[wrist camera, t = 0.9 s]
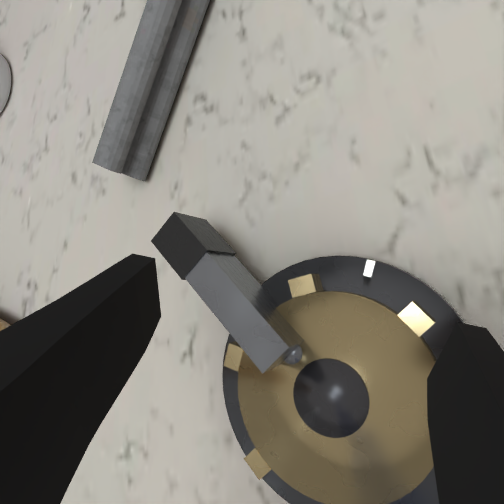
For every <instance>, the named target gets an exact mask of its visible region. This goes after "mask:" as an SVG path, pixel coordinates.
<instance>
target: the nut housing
mask: <svg viewBox="0 0 504 504" xmlns="http://www.w3.org/2000/svg"><path fill="white" fill-rule="evenodd" d="M308 274H319V276H320V280H321V283H322V287H323V291H321V292H324V291H344V292H352V293H357V294H361V295H364V296H367V297H370V298H373V299H375V300H377V301H379V302H381V303H383V304H385V305H387V306H389V307H390V308H392V309H393V310H395V311H396V312H398V313H400V312H401V311H402V310H404V309H405V308H406V307H407V306H408V305H409V304H410V303H411V302H412V301H414V300H415V301H416V302H417V303H418V304H419V305H420V306H421V307H422V308H424V309H425V310H426V311H427V312H428V313H429V314H430V315H431V316H432V317H433V318H434V319H435V320H436V321H435V323H434V324H433V325H432V326H431V327H430V328H429V329H428V330H427V331H425V332H424V333H423V334H422V337H423V338H424V339H425V341H426V342H427V344H428V345H429V346H430V348H431V350H432V352H433V354H434V356H435V358H436V359H438V357H439V355H440V353H441V351H442V349H443V348H444V346H445V344H446V342H447V340H448V338H449V336H450V335H451V333H452V331H453V329H454V327H455V325H456V323H457V322H459V323H464V322H463V321H462V319H461V318H460V317H459V315H458V314H457V313H456V311H455V310H454V309H453V308H452V307H451V306H450V305H449V304H448V303H447V302H446V301H445V300H444V299H443V298H442V296H441V295H439V294H438V293H437V292H436V291H434V290H433V289H432V288H431V287H429V286H428V285H427V284H426V283H424V282H422V281H421V280H419V279H418V278H416V277H414V276H413V275H411V274H409V273H407V272H405V271H403V270H401V269H398V268H396V267H394V266H391V265H388V264H385V263H382V262H379V261H375V260H371V259H365V258H359V257H353V256H329V257H319V258H315V259H310V260H306V261H303V262H300V263H297V264H295V265H292V266H289V267H288V268H286V269H284V270H282V271H280V272H278V273H276V274H275V275H274V276H272V277H271V278H270V279H268V280H267V281H265V282H264V283H263V284H262V285H261V286H262V287H263V288H264V289H265V290H266V291H267V292H268V294H269V295H270V296H271V297H272V298H273V299H274V300H275V301H276V302H277V304H278V305H281V304H282V303H284V302H286V301H288V300H290V299H292V295H291V291H290V287H289V283H288V280H290V279H294V278H298V277H301V276H305V275H308ZM294 298H295V297H294ZM464 324H465V323H464ZM234 341H236V340H235V339H234V338H233V337H232V335H231V334H229V337H228V340H227V344H226V349H225V354H224V360H223V391H224V398H225V404H226V409H227V412H228V416H229V420H230V423H231V425H232V428H233V431H234V433H235V436H236V438H237V440H238V442H239V444H240V446H241V448H242V450H243V452H244V453H245V455H246V456H247V455H248V454H249V453H250V452H251V451H252V450H253V449H254V448H255V446H254V444H253V442H252V440H251V438H250V436H249V434H248V432H247V429H246V427H245V424H244V421H243V417H242V414H241V410H240V404H239V398H238V372H239V371H235V370H233V369H230V368H228V367H226V366H224V362H225V358H226V353H227V349H228V345H229V343H231V342H234ZM262 478H263V480H264V481H265V482H266V483H267V484H268V485H269V486H270V487H271V488H272V489H273V490H274V491H275V492H276V493H277V494H279V495H280V496H281V497H282V498H284V499H285V500H286V501H287V502H289V503H290V504H324V503H321V502H318V501H316V500H314V499H311V498H309V497H307V496H305V495H303V494H302V493H300V492H299V491H297V490H295V489H294V488H292V487H291V486H290V485H288V484H287V483H286V482H285V481H283V480H282V479H281V478H280V477H279V476H278V475H277V474H276V473H275V472H274V471H273V470H272V469H271V470H270V471H269V472H268V473H267V474H266V475H265V476H264V477H262ZM389 504H439V499H438V492H437V485H436V478H435V471H434V466H433V468H432V470H431V471H430V473H429V474H428V475H427V476H426V478H425V479H424V480H423V481H422V482H421V483H420V484H419V485H418V486H417V487H416V488H415V489H414V490H413V491H411V492H410V493H408V494H407V495H405V496H403V497H402V498H400V499H398V500H396V501H394V502H391V503H389Z"/></svg>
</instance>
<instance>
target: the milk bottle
mask: <svg viewBox="0 0 504 504" xmlns="http://www.w3.org/2000/svg"><path fill="white" fill-rule="evenodd" d="M10 88H11V71H10V67H9V64H8V62H7V60H6V59H5V58H4V57H3V56H2V55H1V54H0V113H1V112H2V111H3V109H4V107H5V105H6V102H7V100H8V97H9V93H10Z"/></svg>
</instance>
